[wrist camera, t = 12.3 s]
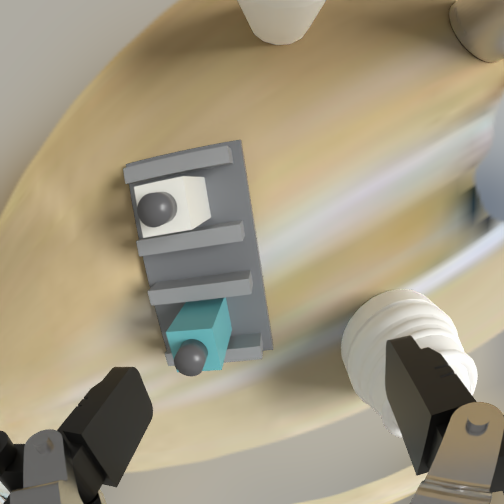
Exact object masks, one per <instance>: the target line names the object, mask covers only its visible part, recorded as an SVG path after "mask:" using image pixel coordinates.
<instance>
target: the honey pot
mask: <svg viewBox="0 0 504 504" xmlns="http://www.w3.org/2000/svg"><path fill="white" fill-rule="evenodd" d="M409 335H411V336H412V337H413V339H414V340H415V341H416V343H417V344H418V346H419V347H420V348H421V349H423V348H427V347H429V348H431V349H433V350H435V351H436V352H438V353H440V354H441V355H442V356H443V357H444V359H445V360H446V361H447V363H448V365H449V366H451V368H452V369H453V370H454V373H455V374H457V376H458V377H459V378H460V380H461V381H462V382H463V384H464V385H465V387H466V388H467V389H468V391H469V392H470V393H471V395H473V393H474V391H475V387H476V383H477V368H476V366H475V364H474V361H473V359H472V358H471V357H470V356H469V355H467V354H466V353H465V352H464V349H463V347H462V345H461V343H460V340H459V338H458V333H457V330H456V328H455V326H454V324H453V322H452V320H451V318H450V317H449V316H448V315H447V314H446V313H444V312H443V311H442V310H441V309H440V308H439V307H438V306H436V305H435V304H434V303H433V302H432V301H430V300H429V299H428V298H427V297H426V296H424V295H423V294H421V293H418V292H416V291H414V290H408V289H396V290H391V291H386V292H383V293H381V294H379V295H377V296H375V297H373V298H371V299H370V300H369V301H367V302H366V303H365V304H363V305H362V306H361V307H360V308H359V309H358V310H357V311H356V313H355V314H354V315H353V316H352V317H351V319H350V320H349V322H348V324H347V326H346V328H345V330H344V333H343V337H342V342H341V357H342V360H343V362H344V365H345V368H346V371H347V373H348V376H349V379H350V381H351V384H352V387H353V389H354V391H355V393H356V394H357V395H358V396H359V397H360V398H361V400H362V401H363V402H365V403H366V404H368V405H369V406H370V407H371V408H372V409H374V410H375V412H376V413H377V414H378V415H380V416H381V418H382V421H383V424H384V426H385V428H386V429H387V430H388V431H389V432H390V433H391V434H394V435H395V436H398V437H401V438H403V437H402V434H401V432H400V429H399V427H398V424H397V421H396V419H395V416H394V414H393V411H392V409H391V406H390V404H389V401H388V399H387V395H386V389H385V364H386V342H387V340H391V339H395V338H400V337H404V336H409Z"/></svg>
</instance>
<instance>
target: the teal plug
mask: <svg viewBox="0 0 504 504" xmlns="http://www.w3.org/2000/svg"><path fill="white" fill-rule="evenodd" d="M231 331H232V327H231V322H230V317H229V311H228V306H227V301H226V297H225V298H216V299H208V300H199V301H190V302H186V303H185V304H184V306H183V307H182V309H181V310H180V312H179V313H178V315H177V316H176V318H175V319H174V321H173V322H172V324H171V325H170V327H169V328H168V330H167V331H166V334H167V338H168V342H169V345H170V349H171V352H172V356H173V359H174V365H175V367H176V369H177V372H180V373H182V374H184V375H186V376H196V375H198V374H200V373H201V372H202V371H210V370H222V366H223V362H224V359H225V355H226V351H227V347H228V343H229V339H230V335H231Z"/></svg>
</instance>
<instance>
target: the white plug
mask: <svg viewBox="0 0 504 504" xmlns="http://www.w3.org/2000/svg"><path fill="white" fill-rule="evenodd" d="M134 191H135V197H136V202H137V213H138V217H139V219H140V224H141V229H142V234H143V238H145V237H151V236H157V235H163V234H169V233H175V232H181V231H187V230H192V229H194V228H195V227H197V226H198V225H200V224H202V223H203V222H205V221H206V220H208V219H209V218H211V214H210V208H209V202H208V196H207V190H206V184H205V178H204V177H191V176H181V177H176V178H172V179H167V180H162V181H157V182H153V183H148V184H144V185H140V186H135V187H134Z"/></svg>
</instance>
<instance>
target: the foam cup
mask: <svg viewBox="0 0 504 504" xmlns="http://www.w3.org/2000/svg"><path fill="white" fill-rule="evenodd" d="M237 1H238V3H239V5H240V7H241V9H242V11H243V13H244V15H245V17H246V19H247V21H248V23H249V25H250V27H251V29H252V32H253V33H254V34H255V35H256V36H257V37H258V38H260V39H261V40H262V41H264V42H267V43H271V44H274V45H284V44H291V43H293V42H295V41H297V40H299V39H301V38H302V37H303V36H304V34H305V33H306V32H307V30H308V29H309V27H310V26H311V24H312V22H313V21H314V19H315V18H316V16H317V14H318V13H319V11H320V9H321V8H322V6H323V5H324V3H325V2H326V0H237Z"/></svg>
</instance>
